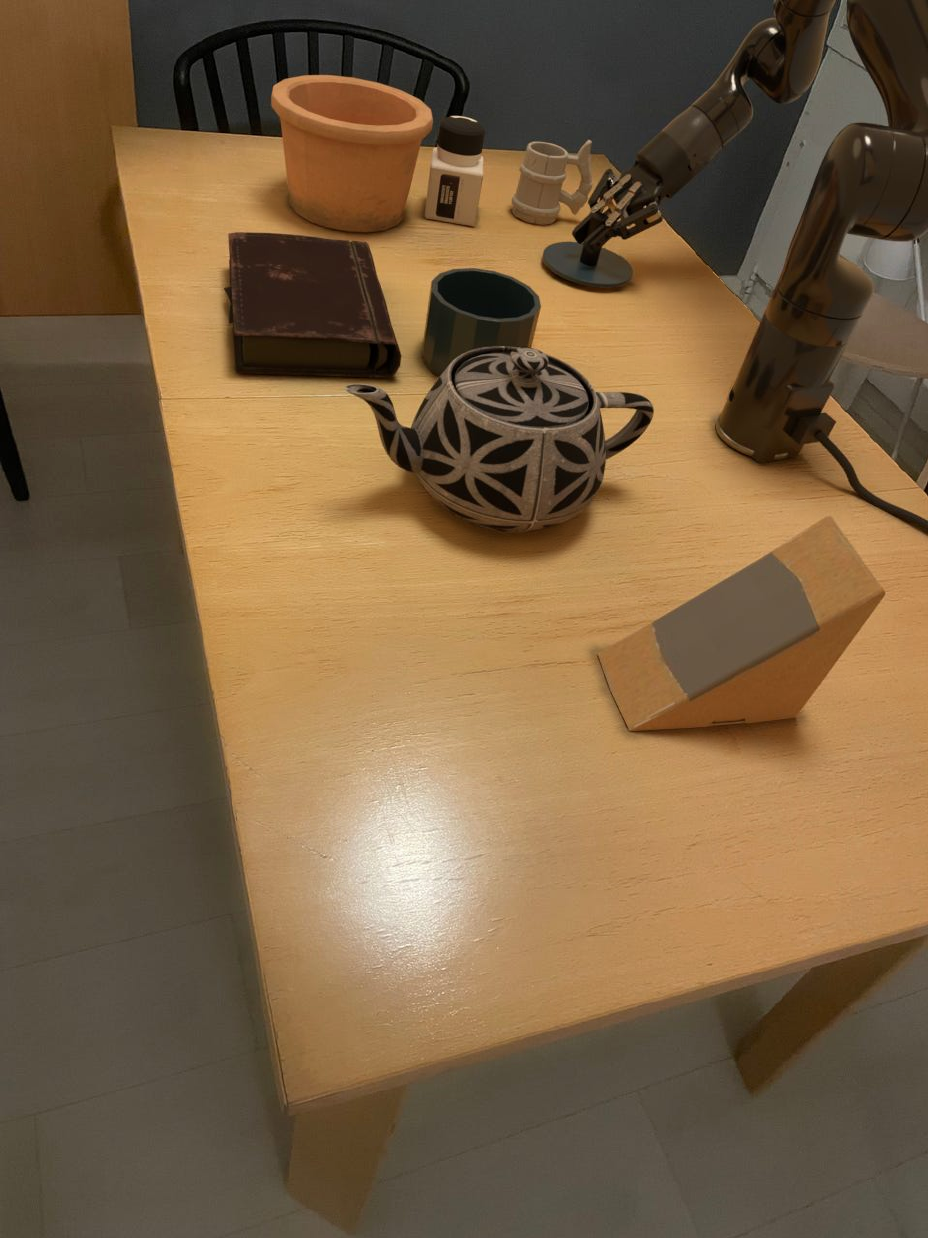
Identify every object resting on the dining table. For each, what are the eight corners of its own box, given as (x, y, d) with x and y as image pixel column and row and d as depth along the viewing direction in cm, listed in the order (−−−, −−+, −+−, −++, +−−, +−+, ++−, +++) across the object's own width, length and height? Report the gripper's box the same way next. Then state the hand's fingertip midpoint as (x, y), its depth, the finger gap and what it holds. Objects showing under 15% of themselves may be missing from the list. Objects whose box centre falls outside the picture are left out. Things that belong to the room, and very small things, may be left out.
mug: (508, 202, 141) (523, 120, 133) (579, 213, 143) (599, 133, 134) (511, 221, 136) (528, 138, 127) (585, 232, 138) (606, 151, 129)
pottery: (238, 198, 125) (236, 86, 115) (339, 168, 139) (345, 66, 129) (355, 255, 119) (363, 141, 109) (448, 217, 133) (463, 114, 123)
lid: (648, 289, 126) (665, 236, 121) (569, 294, 121) (583, 238, 116) (601, 248, 134) (615, 196, 129) (525, 250, 129) (536, 196, 123)
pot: (542, 384, 103) (559, 317, 97) (447, 394, 98) (458, 324, 92) (497, 331, 110) (510, 266, 104) (406, 338, 105) (414, 269, 99)
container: (474, 227, 132) (490, 134, 123) (423, 218, 131) (435, 124, 122) (475, 207, 137) (490, 117, 128) (426, 199, 137) (438, 107, 127)
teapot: (318, 438, 89) (326, 297, 78) (592, 430, 98) (631, 303, 87) (355, 566, 76) (370, 420, 66) (663, 543, 86) (720, 412, 75)
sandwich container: (594, 651, 74) (649, 513, 63) (753, 642, 78) (830, 511, 67) (627, 733, 68) (694, 597, 58) (797, 719, 72) (889, 590, 62)
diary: (369, 277, 115) (373, 239, 112) (399, 380, 99) (403, 339, 95) (222, 268, 110) (221, 227, 107) (227, 375, 94) (226, 331, 90)
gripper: (641, 112, 121) (546, 204, 125) (698, 151, 113) (594, 247, 117) (660, 154, 127) (568, 240, 131) (716, 193, 119) (616, 284, 123)
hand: (581, 243), depth 124 cm, fingers closed on lid, 2 cm apart
